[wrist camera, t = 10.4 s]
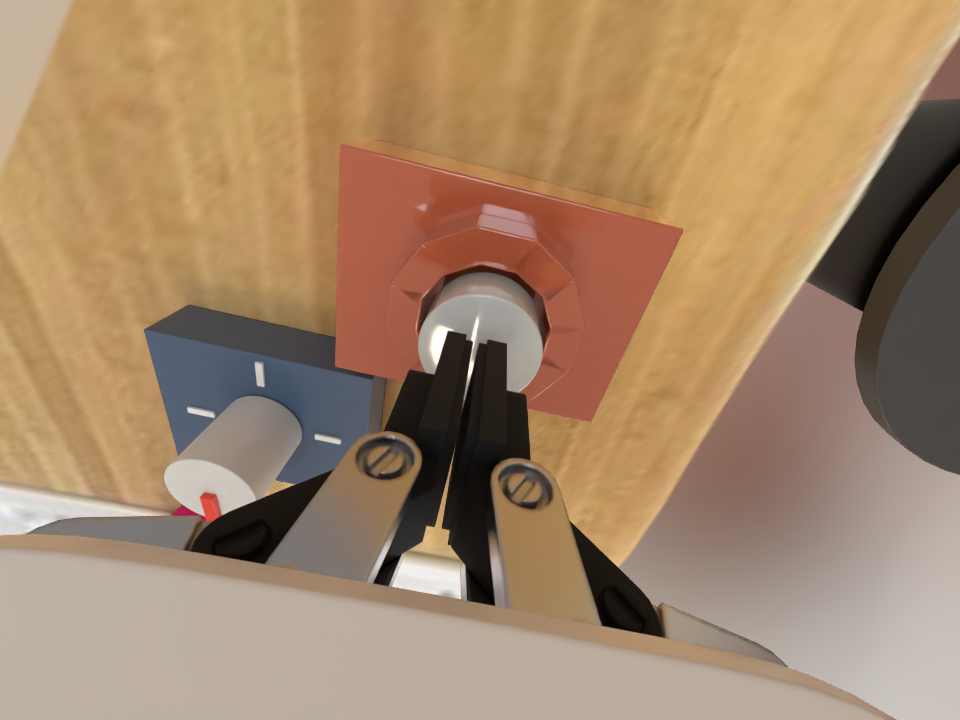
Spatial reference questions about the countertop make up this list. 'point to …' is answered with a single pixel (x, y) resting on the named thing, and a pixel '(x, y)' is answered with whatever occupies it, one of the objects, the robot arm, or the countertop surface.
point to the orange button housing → (490, 264)
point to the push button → (485, 324)
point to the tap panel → (262, 382)
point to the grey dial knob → (234, 457)
